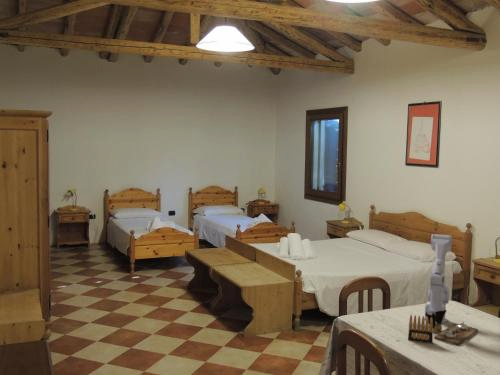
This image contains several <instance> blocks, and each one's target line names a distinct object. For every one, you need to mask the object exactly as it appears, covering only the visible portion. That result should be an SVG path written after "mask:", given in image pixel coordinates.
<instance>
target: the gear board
mask: <svg viewBox="0 0 500 375" xmlns="http://www.w3.org/2000/svg"><path fill="white" fill-rule="evenodd" d="M458 324H459V323H456V322H455V323H454V324H452V325H450V326H448V327H447V328H446V329H443V330H442V332H441V333H436V335H434V339H433V340H437V341H440V342H444V343H447V344H451V345H455V346H460V345H461V344H462V343H464V342H466V341H467V340H468V339H470V338H471V337H472V336H474V335H475V334H477V333H478V332H479V329H478V328H475V327H472V326H469V330H467V331H463V330H459V329H458V333H456V334H458V337H457V338H456V339H450V338H449V339H448V338H447V337H445V336H444V333H445V332H446V331H448V332H449V330H450V329H452V332H453V331H455V328H456V325H458Z"/></svg>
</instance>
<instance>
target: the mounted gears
mask: <svg viewBox="0 0 500 375" xmlns="http://www.w3.org/2000/svg"><path fill="white" fill-rule="evenodd" d="M457 324H458V325H456V328H455V331H453V332H452V329H450V330H449V332H448V331H446V332H445V333H444V336H445V337H447V338H448V339H449V338H450V339H456V338H457V337H458V334H456V333H458V329H459V330H463V331H467V330H469V327H470V325H467V324H465V322H464V321H461V323H457Z"/></svg>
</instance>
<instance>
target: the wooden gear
mask: <svg viewBox="0 0 500 375" xmlns="http://www.w3.org/2000/svg"><path fill="white" fill-rule="evenodd" d="M442 329H443V326H442V324H437V323H435V328H434V329H433V334H434V333H435V334H439V333H441V332H442V331H443V330H442Z"/></svg>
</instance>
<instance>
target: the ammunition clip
mask: <svg viewBox="0 0 500 375" xmlns="http://www.w3.org/2000/svg"><path fill="white" fill-rule="evenodd" d="M424 318H425V315H423V316H422V318H421V315H418V317H417V315H416V314H415V315H414V316H412V314H410V316H409V322H408V335H407V336H408V337H407V341H411V342H419V343H426V344H433V343H434V342H433V340H434V339H433V334H434V332H433V320H432V317H431V318H430V325H429V320H428V316H427V318H426V320H425V319H424Z"/></svg>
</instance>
